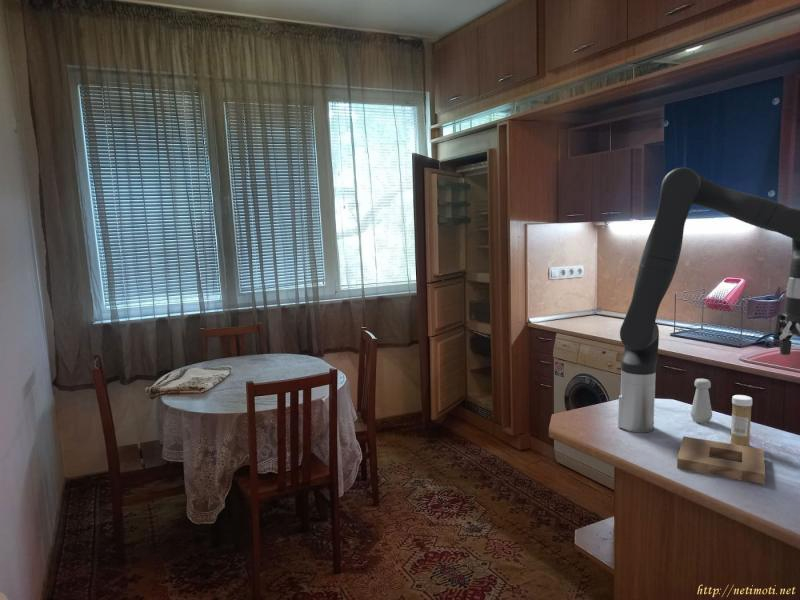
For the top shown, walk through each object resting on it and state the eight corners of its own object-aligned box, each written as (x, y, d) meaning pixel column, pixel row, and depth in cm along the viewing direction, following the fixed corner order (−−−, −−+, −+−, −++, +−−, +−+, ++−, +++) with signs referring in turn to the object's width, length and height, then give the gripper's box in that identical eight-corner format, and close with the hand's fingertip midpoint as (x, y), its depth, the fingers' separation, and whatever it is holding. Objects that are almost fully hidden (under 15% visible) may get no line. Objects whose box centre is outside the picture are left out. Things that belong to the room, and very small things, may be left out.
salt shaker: (709, 418, 166) (712, 377, 164) (713, 425, 161) (716, 382, 159) (688, 417, 168) (690, 376, 166) (691, 423, 163) (693, 381, 161)
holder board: (676, 467, 134) (677, 458, 134) (683, 445, 148) (683, 436, 147) (764, 484, 125) (765, 474, 124) (762, 458, 138) (763, 449, 138)
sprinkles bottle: (752, 445, 146) (755, 397, 144) (744, 449, 144) (747, 400, 142) (734, 440, 150) (737, 393, 148) (726, 444, 147) (729, 396, 146)
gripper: (769, 292, 143) (763, 352, 145) (812, 300, 129) (804, 366, 131) (797, 291, 143) (790, 351, 146) (842, 300, 129) (834, 366, 132)
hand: (797, 358), depth 138 cm, fingers open, 8 cm apart
